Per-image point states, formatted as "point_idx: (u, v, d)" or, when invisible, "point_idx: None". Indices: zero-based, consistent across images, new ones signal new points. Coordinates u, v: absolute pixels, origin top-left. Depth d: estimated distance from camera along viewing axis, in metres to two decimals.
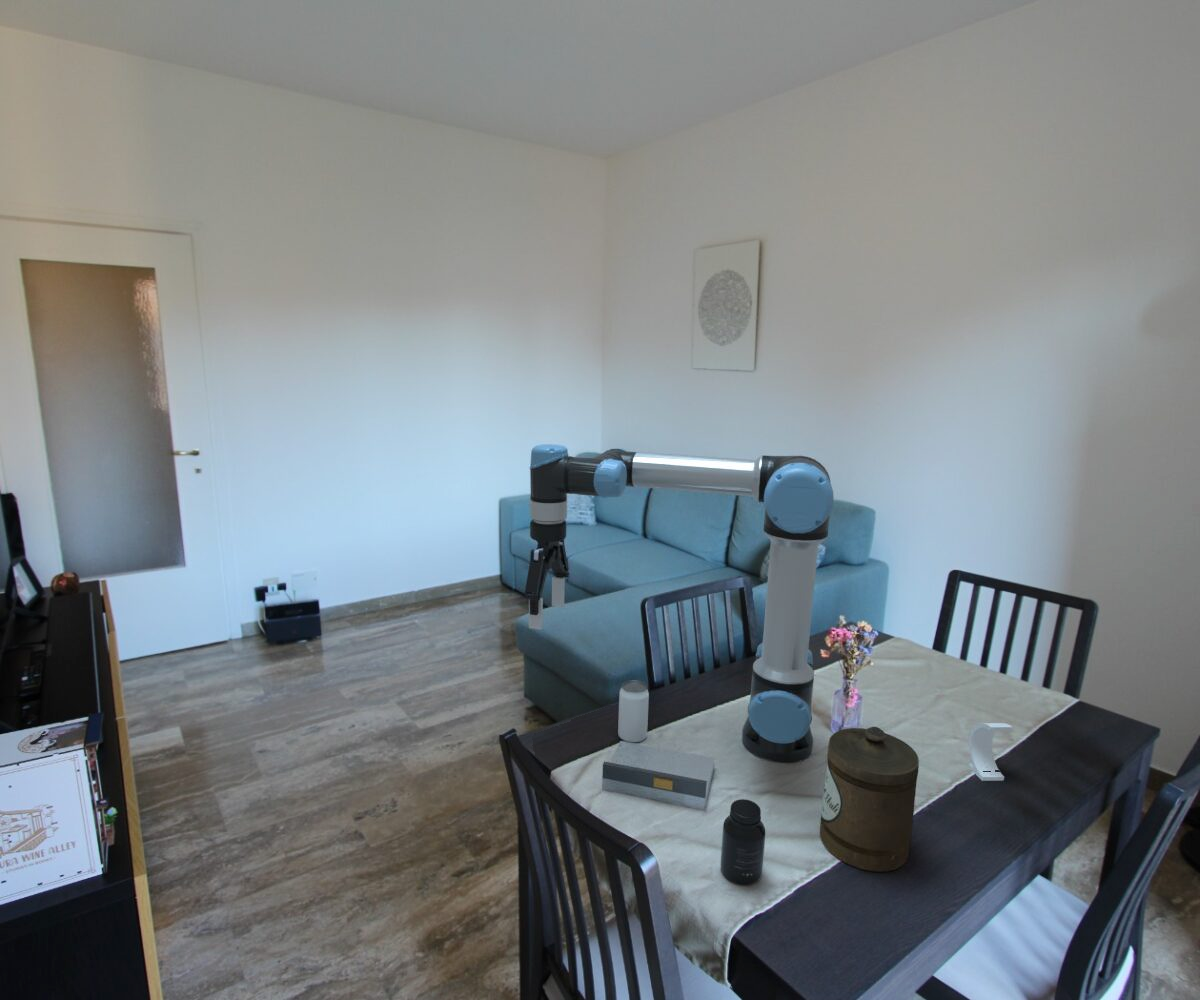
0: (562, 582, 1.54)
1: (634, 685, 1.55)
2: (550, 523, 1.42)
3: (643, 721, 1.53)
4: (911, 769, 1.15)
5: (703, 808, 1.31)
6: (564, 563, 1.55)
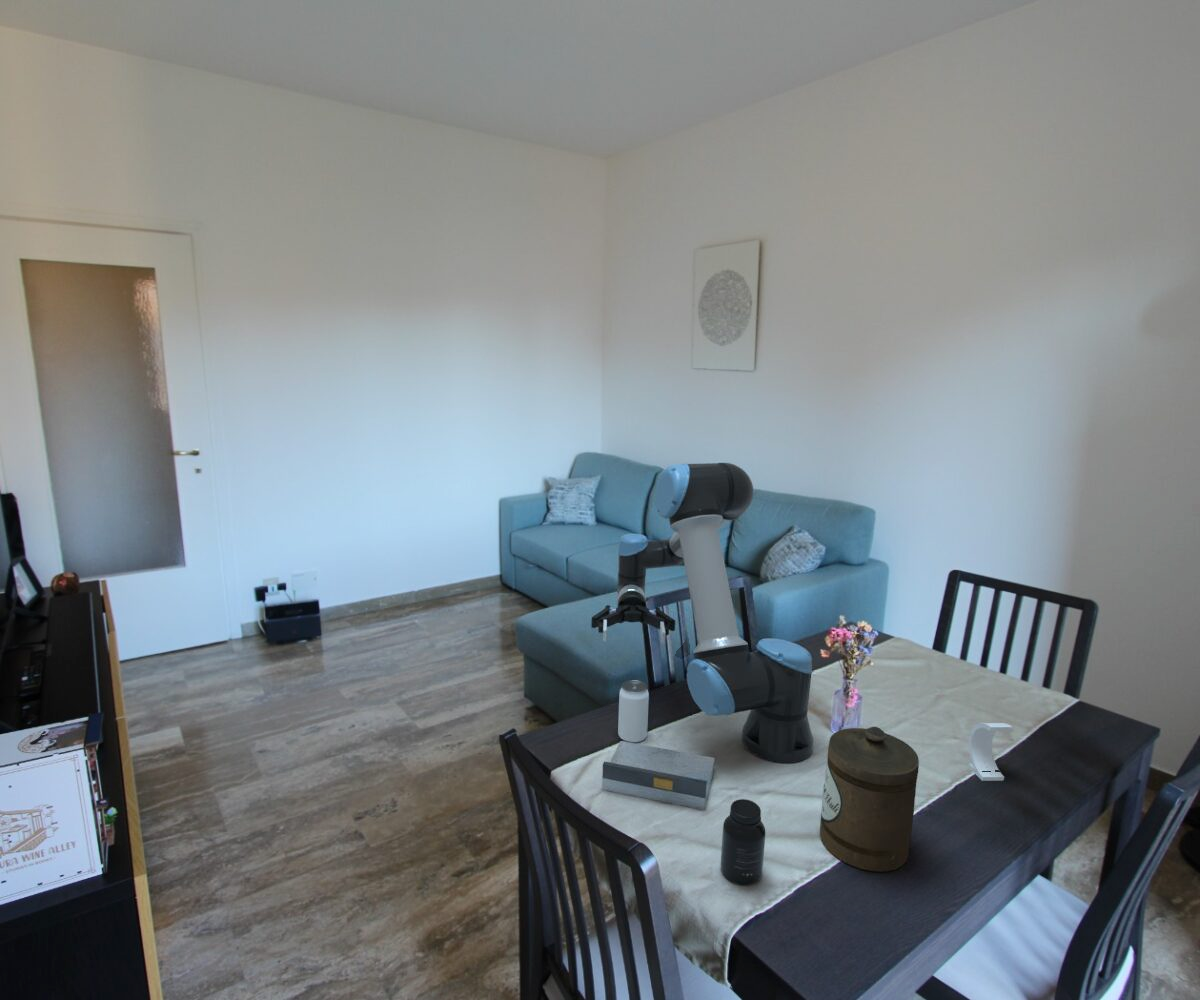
0: (660, 623, 1.67)
1: (634, 685, 1.55)
2: None
3: (643, 721, 1.53)
4: (911, 769, 1.15)
5: (703, 808, 1.31)
6: (666, 618, 1.71)
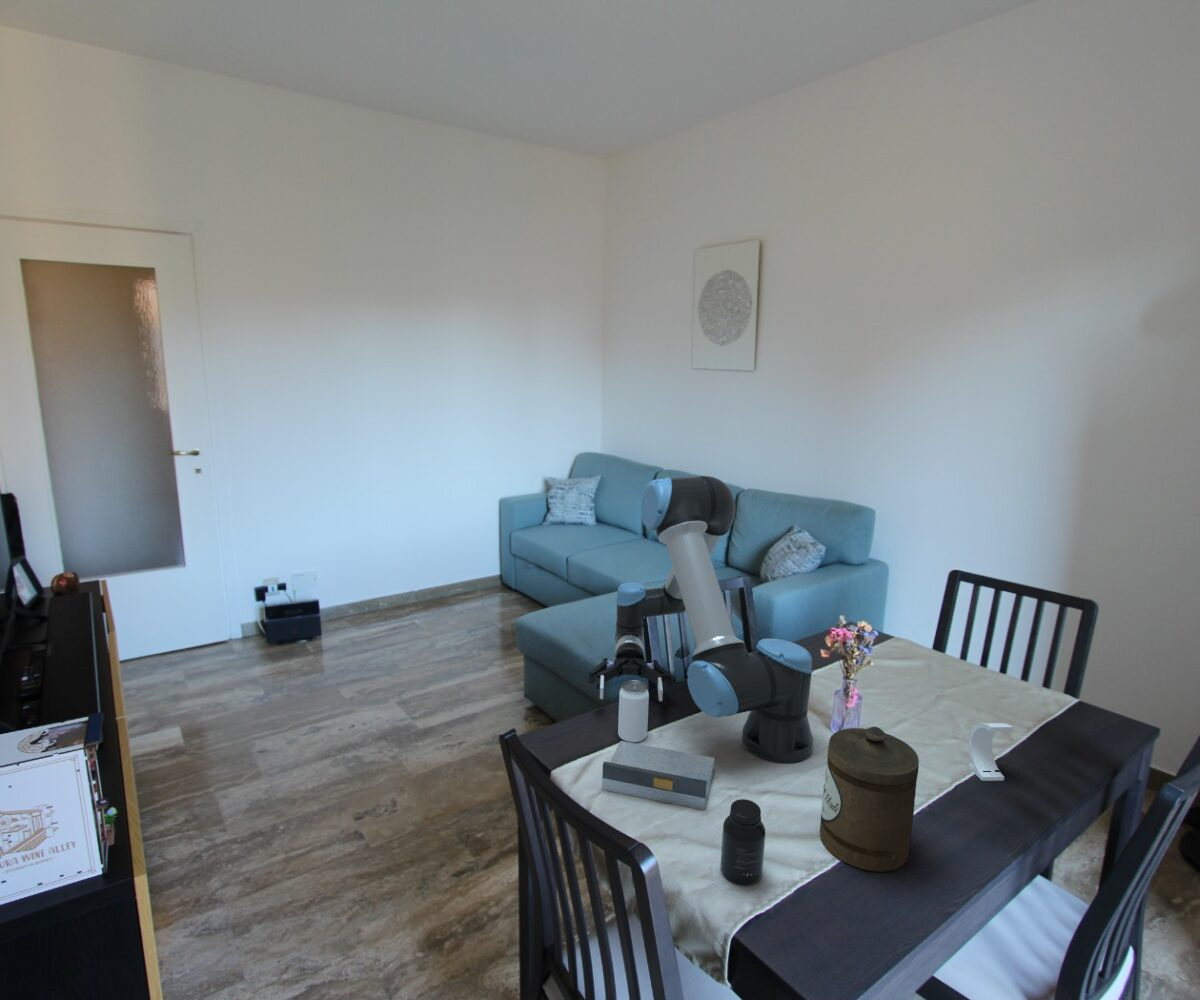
0: (658, 679, 1.66)
1: (634, 685, 1.55)
2: None
3: (643, 721, 1.53)
4: (911, 769, 1.15)
5: (703, 808, 1.31)
6: (663, 673, 1.70)
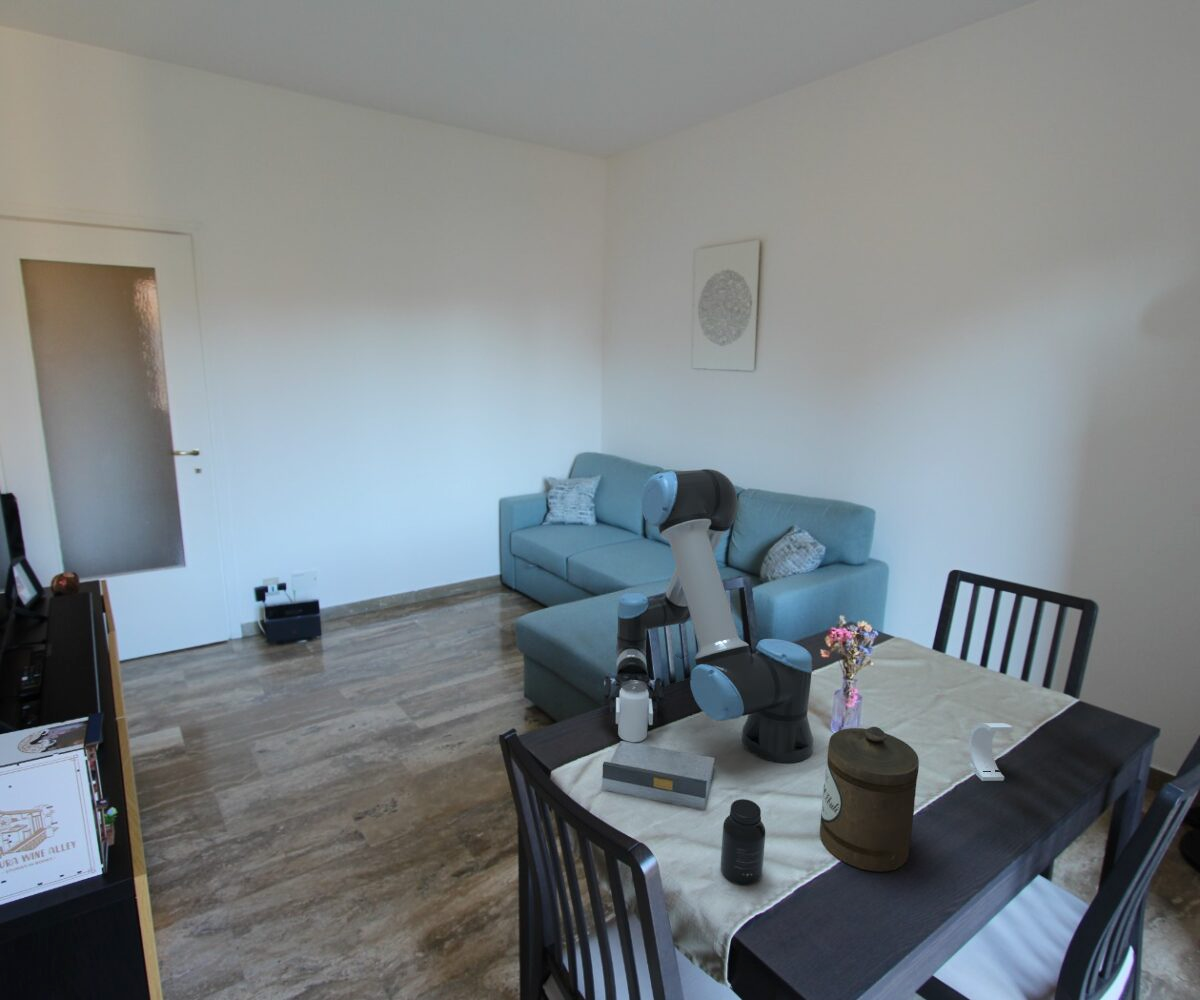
0: None
1: (634, 685, 1.55)
2: None
3: (643, 721, 1.53)
4: (911, 769, 1.15)
5: (703, 808, 1.31)
6: (657, 693, 1.59)
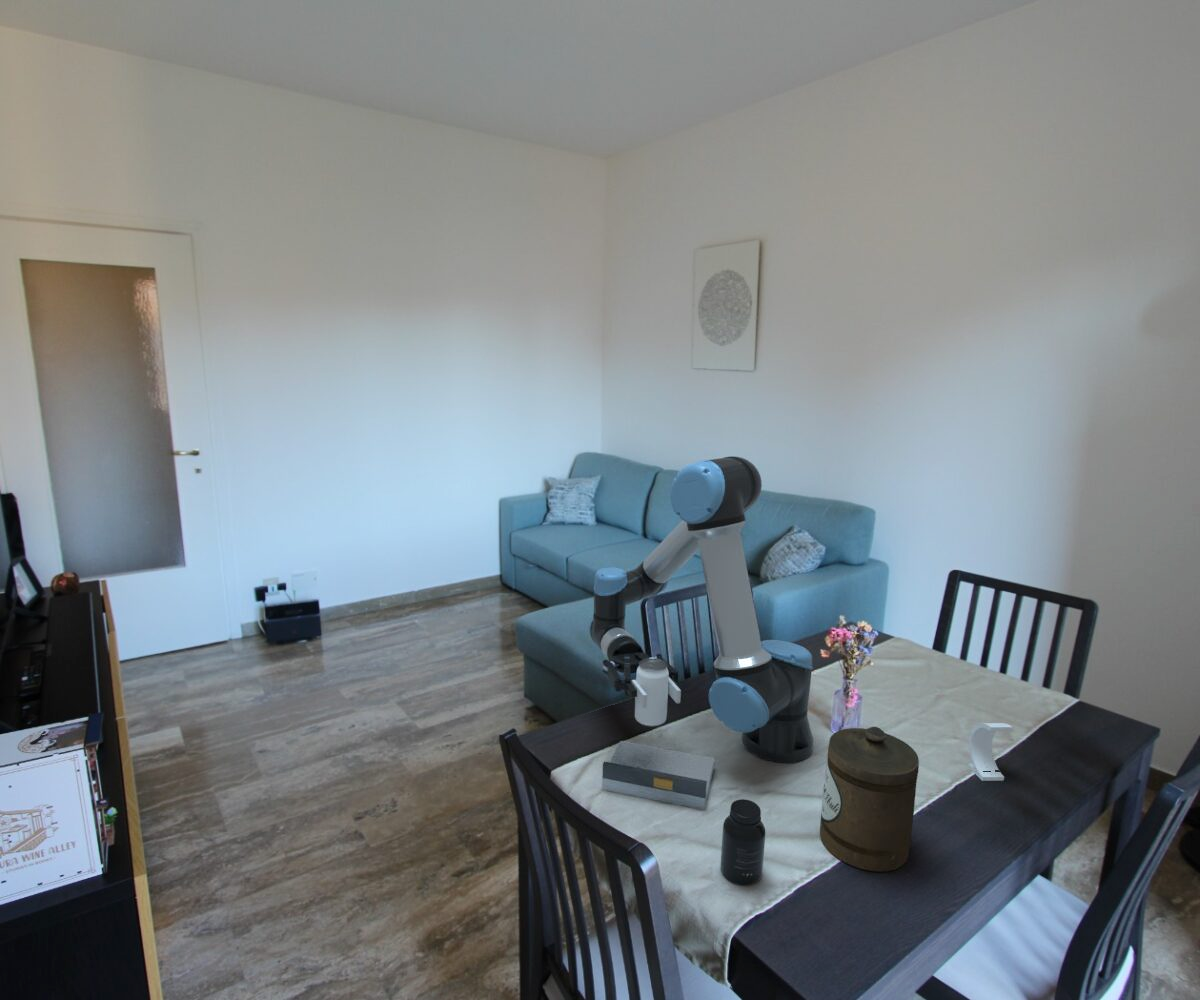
0: None
1: (651, 663, 1.41)
2: None
3: (666, 701, 1.40)
4: (911, 769, 1.15)
5: (703, 808, 1.31)
6: (668, 669, 1.47)
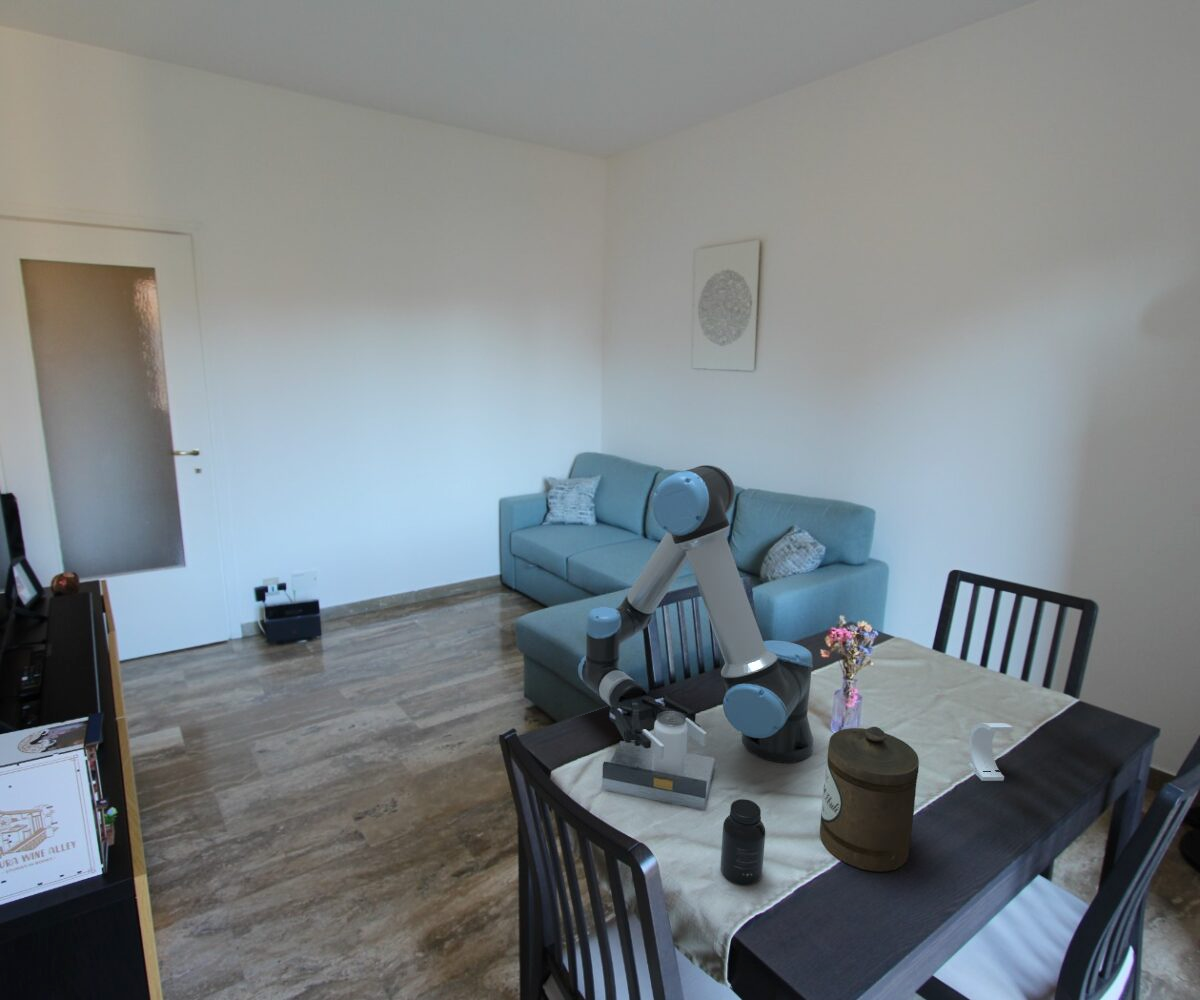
0: (686, 721, 1.39)
1: (668, 717, 1.37)
2: None
3: (685, 754, 1.36)
4: (911, 769, 1.15)
5: (703, 808, 1.31)
6: (682, 710, 1.44)
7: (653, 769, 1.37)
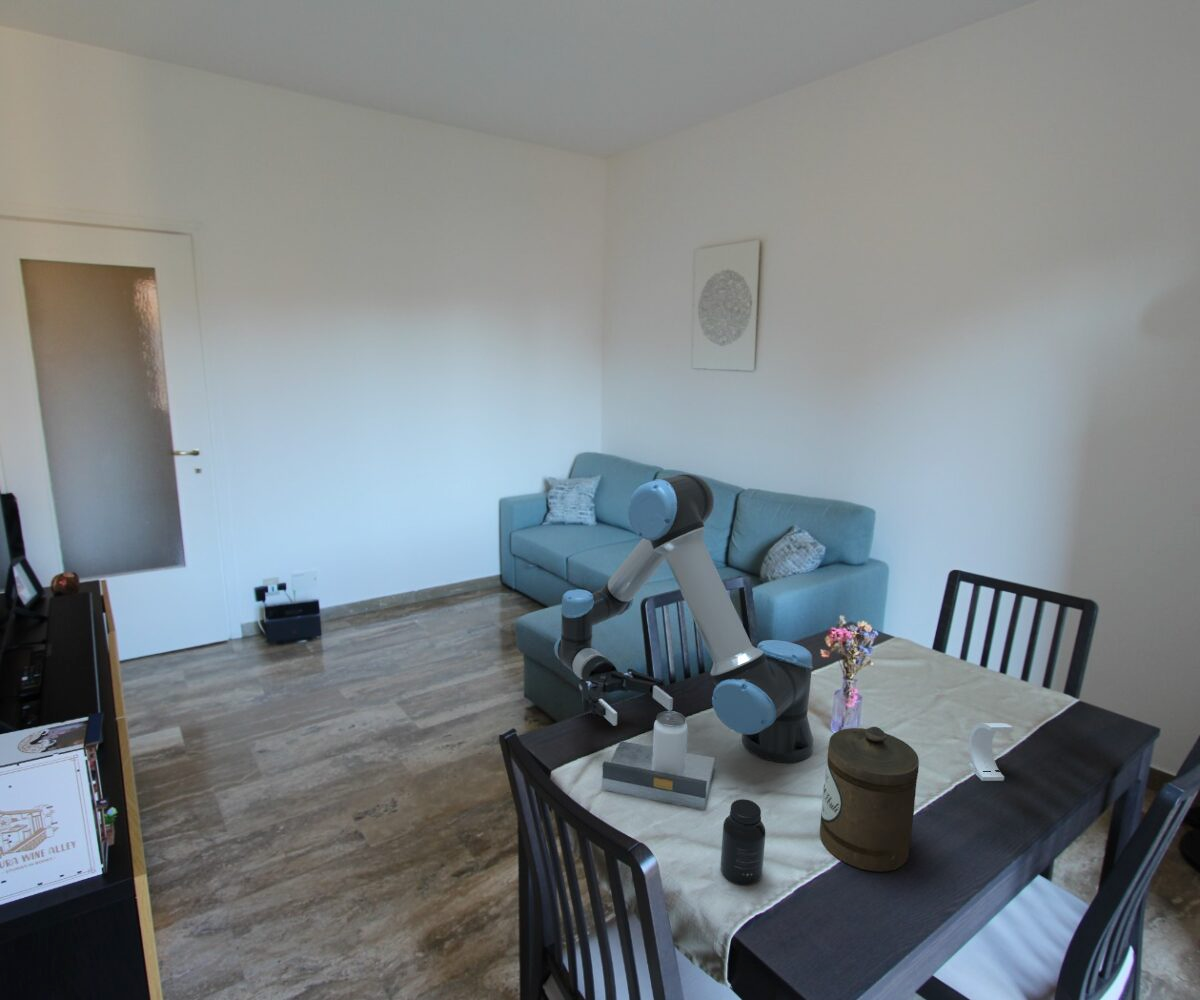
0: (655, 688, 1.53)
1: (668, 717, 1.37)
2: None
3: (685, 754, 1.36)
4: (911, 769, 1.15)
5: (703, 808, 1.31)
6: (651, 680, 1.57)
7: (653, 769, 1.37)
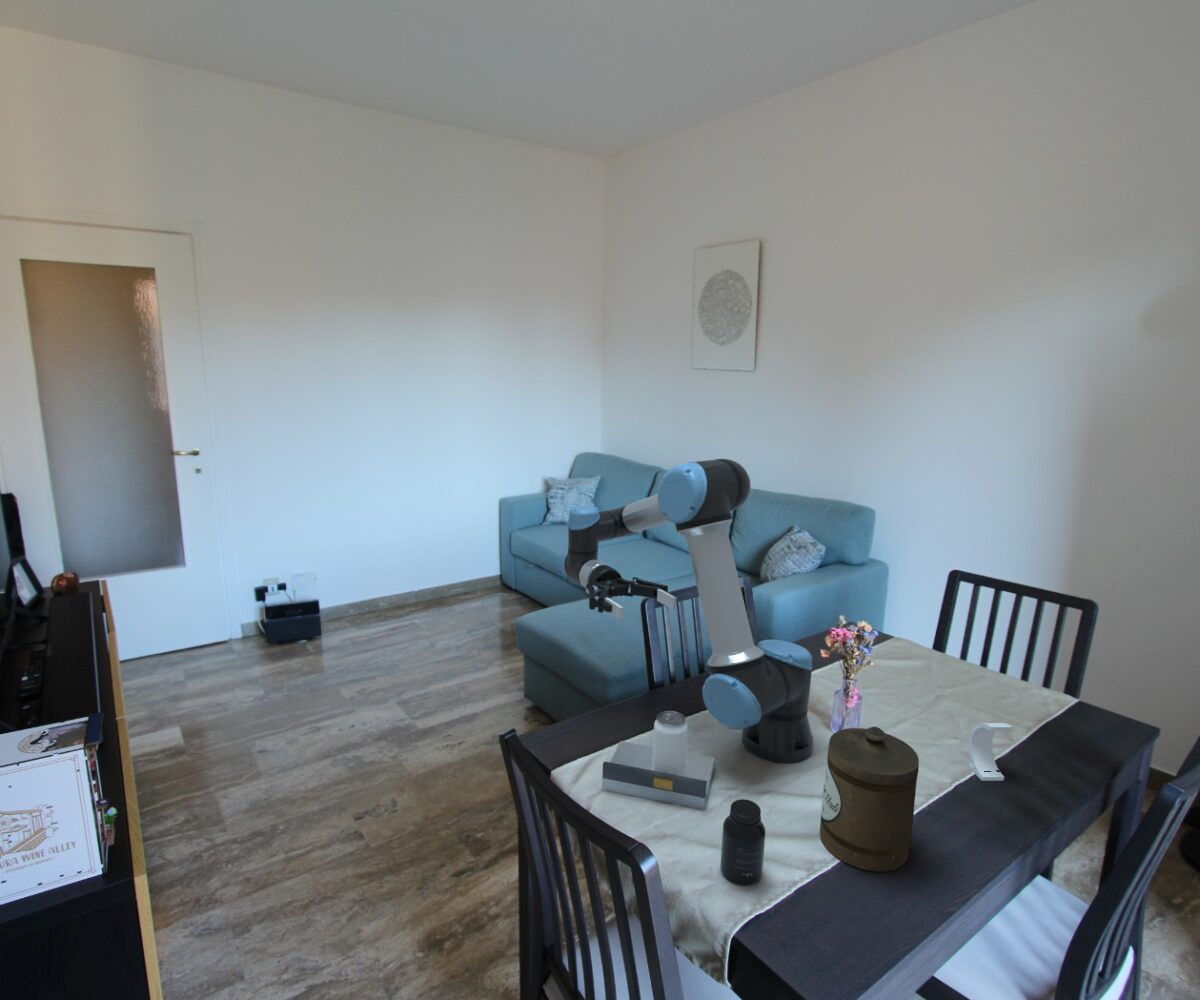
0: (659, 591, 1.58)
1: (668, 717, 1.37)
2: None
3: (685, 754, 1.36)
4: (911, 769, 1.15)
5: (703, 808, 1.31)
6: (655, 585, 1.62)
7: (653, 769, 1.37)
